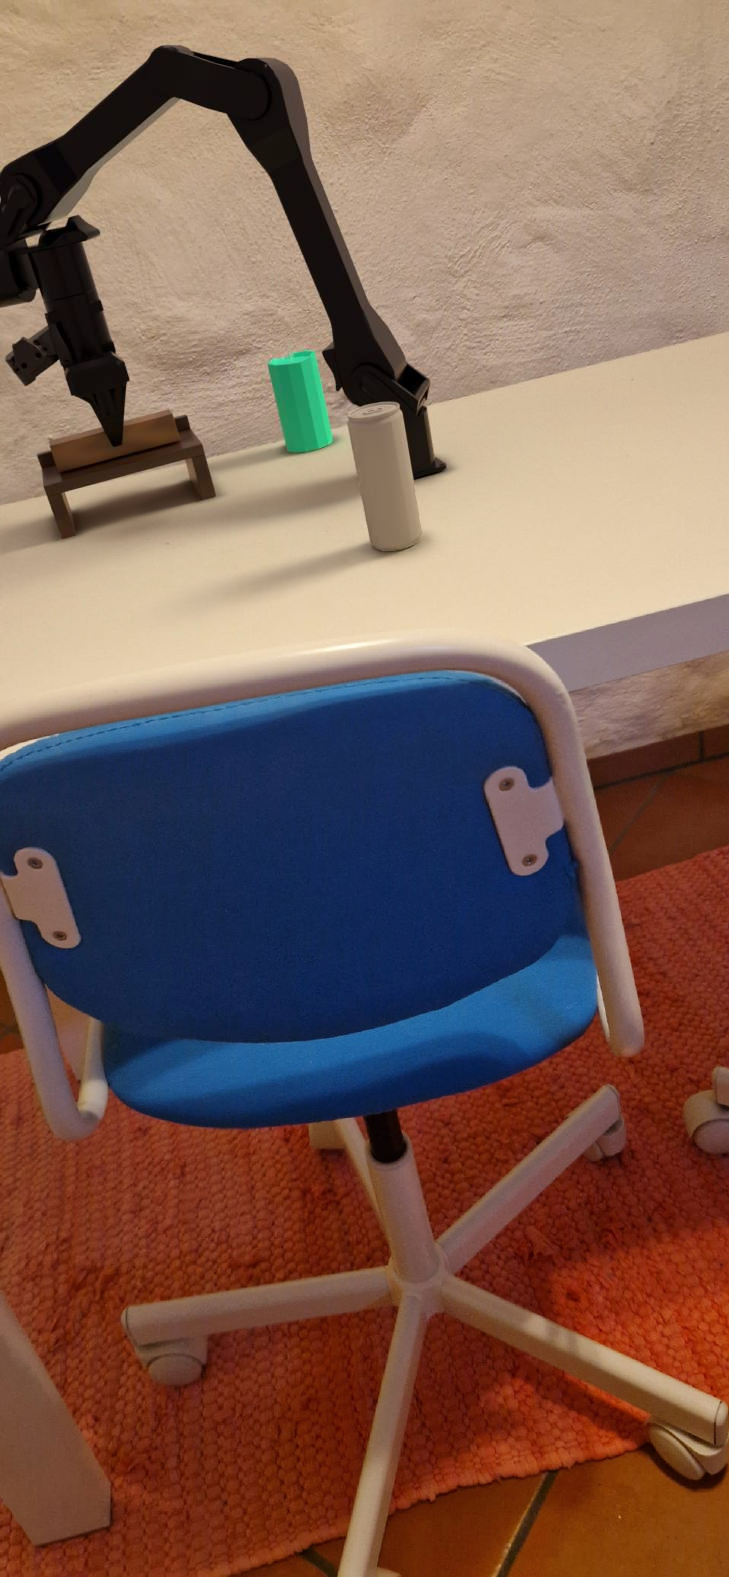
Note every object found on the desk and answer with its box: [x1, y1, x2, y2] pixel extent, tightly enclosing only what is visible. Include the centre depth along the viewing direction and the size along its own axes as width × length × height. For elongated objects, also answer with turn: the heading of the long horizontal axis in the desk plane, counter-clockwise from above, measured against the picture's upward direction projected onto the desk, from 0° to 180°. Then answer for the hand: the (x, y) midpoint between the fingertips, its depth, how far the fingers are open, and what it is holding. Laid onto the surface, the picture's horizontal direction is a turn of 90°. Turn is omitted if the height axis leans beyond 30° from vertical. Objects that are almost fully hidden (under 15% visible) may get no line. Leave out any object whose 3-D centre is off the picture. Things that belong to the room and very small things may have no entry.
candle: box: [267, 343, 334, 454], centre depth 129 cm, size 6×6×12 cm
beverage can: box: [346, 402, 423, 552], centre depth 94 cm, size 5×5×12 cm
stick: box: [48, 408, 180, 473], centre depth 120 cm, size 14×3×3 cm, turn 106°
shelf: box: [36, 413, 217, 539], centre depth 122 cm, size 10×18×8 cm, turn 106°
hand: (116, 443), depth 120 cm, fingers closed on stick, 3 cm apart
